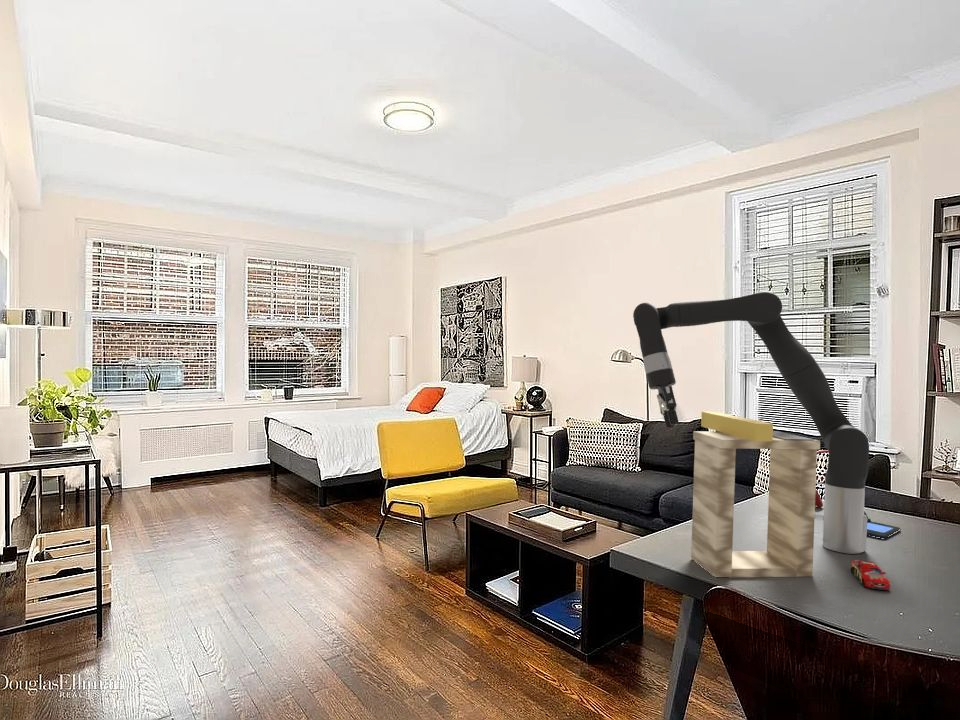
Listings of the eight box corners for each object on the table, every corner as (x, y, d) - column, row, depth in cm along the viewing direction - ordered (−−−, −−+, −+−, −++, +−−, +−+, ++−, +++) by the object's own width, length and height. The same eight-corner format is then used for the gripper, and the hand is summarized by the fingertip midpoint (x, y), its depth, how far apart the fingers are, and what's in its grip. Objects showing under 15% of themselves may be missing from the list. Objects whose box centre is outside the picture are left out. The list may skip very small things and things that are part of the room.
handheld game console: (884, 541, 170) (885, 509, 170) (832, 529, 180) (834, 499, 180) (901, 532, 180) (903, 501, 180) (852, 521, 190) (853, 492, 190)
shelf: (778, 557, 153) (783, 431, 153) (815, 577, 139) (820, 439, 139) (689, 558, 151) (693, 430, 150) (717, 579, 137) (721, 438, 136)
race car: (893, 594, 131) (893, 576, 131) (864, 591, 133) (865, 573, 133) (874, 573, 144) (874, 556, 144) (848, 570, 146) (848, 554, 145)
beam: (715, 426, 161) (715, 411, 161) (772, 441, 135) (773, 423, 135) (701, 426, 161) (701, 411, 161) (755, 441, 135) (756, 423, 135)
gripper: (675, 362, 165) (690, 420, 161) (668, 373, 179) (682, 426, 175) (648, 368, 166) (662, 425, 162) (643, 377, 180) (656, 431, 176)
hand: (672, 426), depth 168 cm, fingers open, 8 cm apart
